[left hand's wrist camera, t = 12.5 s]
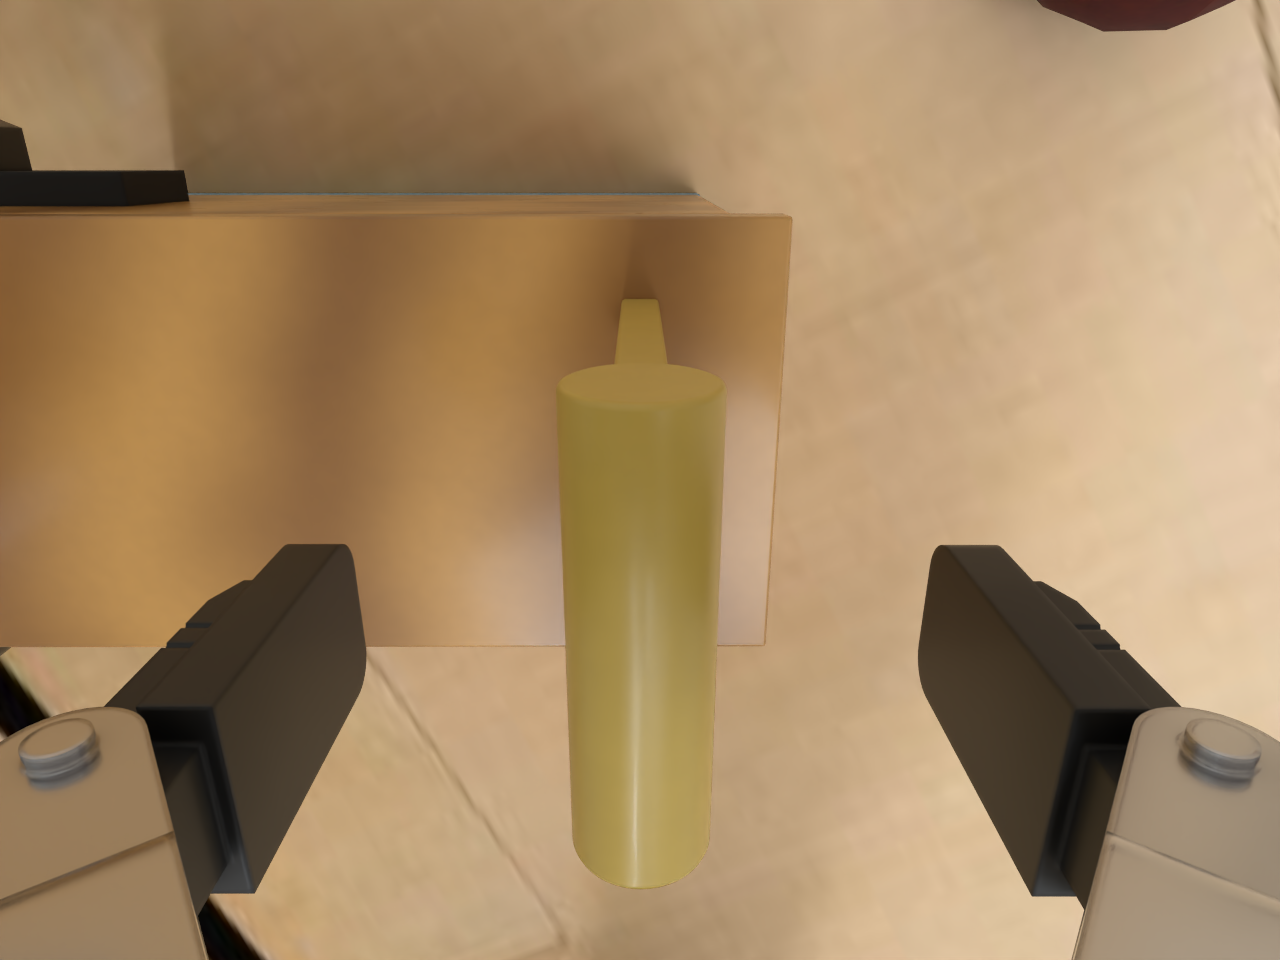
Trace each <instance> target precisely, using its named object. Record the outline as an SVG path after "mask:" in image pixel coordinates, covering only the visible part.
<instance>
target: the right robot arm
mask: <svg viewBox="0 0 1280 960" xmlns="http://www.w3.org/2000/svg"><path fill="white" fill-rule="evenodd" d="M184 201H189V195H188V190H187V185H186V179H185V174H184V170H153V171H32V168H31V164H30V160H29V156H28V152H27V147H26V143H25V139H24V135H23V131H22V128H20V127H17V126H15V125H12V124H10V123H7V122H5V121H2V120H0V206H138V205H150V204H161V203H173V202H184ZM10 648H11V647H0V656H1V655H2V654H3V653H4V652H6V651H7V650H8V649H10Z"/></svg>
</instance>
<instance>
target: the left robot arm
mask: <svg viewBox="0 0 1280 960" xmlns="http://www.w3.org/2000/svg"><path fill="white" fill-rule="evenodd" d="M918 667H919V676H920V681H921V685H922V688H923V691H924V694H925V696H926V698H927V700H928V702H929V704H930V706H931V707H932V709H933V711H934V713H935V715H936V717H937V719H938V721H939V722H940V724H941V726H942V728H943V730H944V732H945V734H946V736H947V738H948V739H949V741H950V743H951V745H952V747H953V749H954V751H955V753H956V754H957V756H958V758H959V760H960V762H961V764H962V766H963V768H964V769H965V771H966V773H967V775H968V777H969V779H970V781H971V783H972V785H973V786H974V788H975V790H976V792H977V794H978V796H979V798H980V800H981V801H982V803H983V805H984V807H985V809H986V811H987V813H988V815H989V816H990V818H991V820H992V822H993V824H994V826H995V828H996V830H997V832H998V833H999V835H1000V837H1001V839H1002V841H1003V843H1004V845H1005V847H1006V848H1007V850H1008V852H1009V854H1010V856H1011V858H1012V860H1013V862H1014V863H1015V865H1016V867H1017V869H1018V871H1019V873H1020V875H1021V877H1022V879H1023V880H1024V882H1025V884H1026V886H1027V888H1028V890H1029V892H1030V894H1031V895H1032V896H1077V898H1078V900H1079V902H1080V903H1081V905H1082V907H1083V908H1084V913H1083V917H1082V921H1081V925H1080V929H1079V932H1078V936H1077V940H1076V944H1075V948H1074V952H1073V956H1072V960H1280V742H1279V741H1277V740H1276V739H1274V738H1272V737H1271V736H1269V735H1267V734H1266V733H1264V732H1262V731H1260V730H1258V729H1256V728H1254V727H1252V726H1250V725H1248V724H1245V723H1243V722H1240V721H1238V720H1235V719H1233V718H1230V717H1227V716H1224V715H1221V714H1217V713H1213V712H1209V711H1205V710H1199V709H1194V708H1185V707H1181V706H1180V705H1179V704H1178V703H1177V702H1176V701H1175V700H1174V699H1173V698H1172V697H1171V696H1170V695H1169V694H1168V693H1167V692H1166V691H1165V690H1164V689H1163V688H1162V687H1161V686H1160V685H1159V684H1158V683H1157V682H1156V681H1155V680H1154V679H1153V678H1152V677H1151V676H1150V675H1149V674H1148V673H1147V672H1146V671H1145V670H1144V669H1143V668H1142V667H1141V666H1140V665H1139V664H1138V662H1137V661H1136V660H1135V659H1134V658H1133V657H1132V656H1131V655H1130V654H1129V653H1128V652H1127V651H1126V650H1120V644H1119V643H1118V642H1117V641H1116V640H1115V639H1114V638H1113V637H1112V636H1111V635H1110V634H1109V633H1108V632H1107V631H1106V630H1101V629H1100V624H1099V623H1098V622H1097V621H1096V620H1095V619H1094V618H1093V617H1092V616H1091V615H1090V614H1089V613H1088V612H1087V611H1086V610H1085V609H1084V608H1083V607H1082V606H1081V605H1080V604H1079V603H1078V602H1077V601H1075V600H1074V599H1072V598H1070V597H1068V596H1066V595H1065V594H1063V593H1061V592H1059V591H1058V590H1056V589H1054V588H1052V587H1050V586H1049V585H1047V584H1045V583H1043V582H1041V581H1032V579H1031V578H1030V577H1029V576H1028V575H1027V574H1026V573H1025V572H1024V571H1023V570H1022V569H1021V568H1020V567H1019V566H1018V564H1017V563H1016V562H1015V561H1014V560H1013V559H1012V558H1011V557H1010V556H1009V555H1008V554H1007V553H1006V552H1005V551H1004V549H1002V548H1001V547H1000V546H998V545H940V546H938V547H937V548H936V549H935V551H934V553H933V556H932V559H931V564H930V570H929V577H928V584H927V591H926V598H925V605H924V612H923V619H922V626H921V633H920V640H919V648H918ZM365 669H366V643H365V636H364V629H363V622H362V615H361V608H360V601H359V593H358V586H357V579H356V572H355V565H354V560H353V556H352V553H351V551H350V549H349V547H348V546H347V545H345V544H287V545H285V546H283V547H282V548H281V549H280V550H279V552H278V553H277V554H276V555H275V556H274V557H273V558H272V559H271V560H270V561H269V562H268V563H267V565H266V566H265V567H264V568H263V569H262V570H261V571H260V572H259V573H258V574H257V575H256V577H255V578H254V579H253V580H243V581H241V582H240V583H238V584H236V585H234V586H232V587H231V588H229V589H227V590H225V591H224V592H222V593H220V594H218V595H216V596H215V597H213V598H211V599H209V600H208V601H207V602H206V603H205V604H204V605H203V606H202V607H201V608H200V609H199V610H198V611H197V612H196V613H195V614H194V615H193V616H192V617H191V618H190V619H189V620H188V621H187V622H186V627H185V628H180V629H179V631H178V632H177V633H176V634H175V635H174V636H173V637H172V638H171V639H170V640H169V641H168V642H167V643H166V648H161V649H160V650H159V651H158V652H157V653H156V654H155V655H154V656H153V657H152V658H151V659H150V660H149V661H148V662H147V663H146V664H145V665H144V666H143V667H142V668H141V669H140V670H139V671H138V672H137V673H136V674H135V675H134V676H133V677H132V678H131V680H130V681H129V682H128V683H127V684H126V685H125V686H124V687H123V688H122V689H121V690H120V691H119V692H118V693H117V694H116V695H115V696H114V697H113V698H112V699H111V700H110V701H109V702H108V703H107V704H106V705H105V706H104V707H95V708H86V709H81V710H75V711H71V712H67V713H63V714H59V715H56V716H53V717H50V718H47V719H45V720H42V721H40V722H37V723H35V724H32V725H30V726H28V727H26V728H24V729H22V730H20V731H18V732H16V733H14V734H13V735H11V736H9V737H8V738H6V739H4V740H3V741H1V742H0V960H208V956H207V952H206V948H205V944H204V940H203V936H202V932H201V929H200V925H199V921H198V917H197V916H198V914H199V912H200V911H201V909H202V907H203V906H204V904H205V902H206V900H207V899H208V897H209V895H210V894H211V893H255V892H256V890H257V888H258V886H259V884H260V882H261V880H262V878H263V876H264V874H265V873H266V871H267V869H268V867H269V865H270V863H271V861H272V859H273V857H274V855H275V854H276V852H277V850H278V848H279V846H280V844H281V842H282V840H283V838H284V836H285V834H286V833H287V831H288V829H289V827H290V825H291V823H292V821H293V819H294V817H295V815H296V814H297V812H298V810H299V808H300V806H301V804H302V802H303V800H304V798H305V796H306V794H307V793H308V791H309V789H310V787H311V785H312V783H313V781H314V779H315V777H316V775H317V774H318V772H319V770H320V768H321V766H322V764H323V762H324V760H325V758H326V756H327V754H328V753H329V751H330V749H331V747H332V745H333V743H334V741H335V739H336V737H337V735H338V734H339V732H340V730H341V728H342V726H343V724H344V722H345V720H346V718H347V716H348V715H349V713H350V711H351V709H352V707H353V705H354V703H355V701H356V699H357V697H358V695H359V693H360V691H361V688H362V685H363V681H364V676H365Z"/></svg>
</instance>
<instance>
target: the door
mask: <svg viewBox="0 0 1280 960" xmlns="http://www.w3.org/2000/svg"><path fill="white" fill-rule="evenodd" d="M791 234H792V217H790V216H787V215H784V214H0V647H166V643H167V642H168V641H169V640H170V639H171V638H172V637H173V636H174V635H175V634H176V633H177V632H178V631H179V629H180V628H185V627H186V622H187V621H188V620H189V619H190V618H191V617H192V616H193V615H194V614H195V613H196V612H197V611H198V610H199V609H200V608H201V607H202V606H203V605H204V604H205V603H206V602H207V601H208V600H209V599H211V598H213V597H215V596H216V595H218V594H220V593H222V592H224V591H225V590H227V589H229V588H231V587H232V586H234V585H236V584H238V583H240V582H241V581H243V580H253V579H254V578H255V577H256V575H257V574H258V573H259V572H260V571H261V570H262V569H263V568H264V567H265V566H266V565H267V563H268V562H269V561H270V560H271V559H272V558H273V557H274V556H275V555H276V554H277V553H278V552H279V550H280V549H281V548H282V547H283V546H285V545H287V544H345V545H347V546H348V547H349V549H350V551H351V553H352V556H353V560H354V565H355V572H356V579H357V586H358V593H359V601H360V608H361V615H362V622H363V629H364V636H365V643H366V647H389V646H565V650H566V676H567V703H568V729H569V755H570V782H571V808H572V834H573V843H574V847H575V850H576V852H577V854H578V856H579V858H580V859H581V861H582V862H583V863H584V865H585V866H586V867H587V868H588V869H589V870H590V871H591V872H592V873H593V874H595V875H596V876H597V877H599V878H601V879H602V880H604V881H606V882H609V883H611V884H614V885H617V886H620V887H625V888H631V889H651V888H657V887H662V886H666V885H669V884H671V883H674V882H676V881H678V880H680V879H682V878H683V877H685V876H686V875H688V874H689V873H690V872H691V871H692V870H693V869H694V868H696V866H697V865H698V864H699V862H700V861H701V860H702V858H703V856H704V855H705V853H706V851H707V848H708V845H709V838H710V815H711V789H712V764H713V738H714V713H715V687H716V662H717V646H764V645H765V642H766V627H767V611H768V595H769V580H770V564H771V548H772V532H773V517H774V501H775V485H776V470H777V454H778V438H779V422H780V407H781V391H782V375H783V360H784V344H785V328H786V313H787V297H788V281H789V265H790V250H791Z"/></svg>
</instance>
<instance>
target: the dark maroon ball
mask: <svg viewBox="0 0 1280 960" xmlns="http://www.w3.org/2000/svg"><path fill="white" fill-rule="evenodd" d="M1037 1H1038V2H1039V3H1040V4H1041V5H1042V6H1043V7H1045V8H1048V9H1050V10H1053V11H1055V12H1058V13H1060V14H1063V15H1065V16H1068V17H1070V18H1073V19H1075V20H1078V21H1080V22H1083V23H1085V24H1087V25H1090V26H1092V27H1094V28H1097V29H1099V30H1101V31H1141V30H1167V29H1170V28H1172V27H1175V26H1177V25H1180V24H1182V23H1185V22H1188V21H1190V20H1192V19H1195V18H1197V17H1199V16H1202V15H1204V14H1206V13H1208V12H1211V11H1213V10H1215V9H1218V8H1220V7H1222V6H1224V5H1227V4H1229V3H1231V2H1233V1H1235V0H1037Z"/></svg>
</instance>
